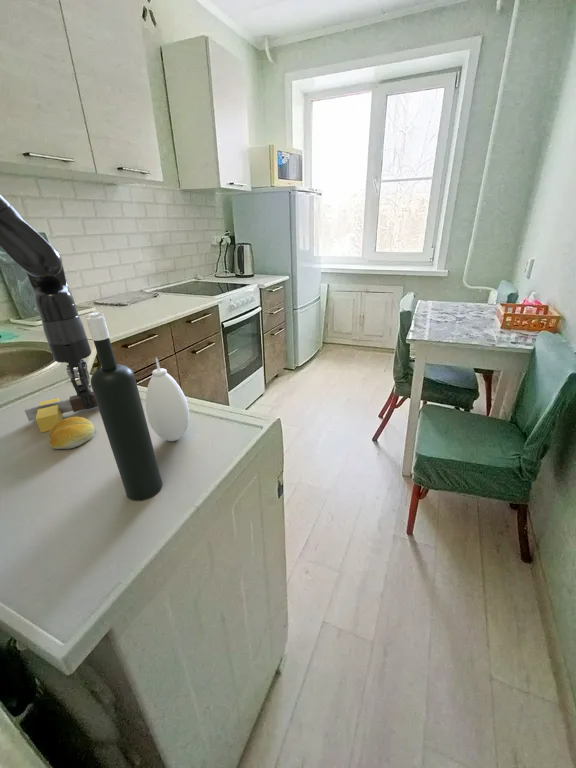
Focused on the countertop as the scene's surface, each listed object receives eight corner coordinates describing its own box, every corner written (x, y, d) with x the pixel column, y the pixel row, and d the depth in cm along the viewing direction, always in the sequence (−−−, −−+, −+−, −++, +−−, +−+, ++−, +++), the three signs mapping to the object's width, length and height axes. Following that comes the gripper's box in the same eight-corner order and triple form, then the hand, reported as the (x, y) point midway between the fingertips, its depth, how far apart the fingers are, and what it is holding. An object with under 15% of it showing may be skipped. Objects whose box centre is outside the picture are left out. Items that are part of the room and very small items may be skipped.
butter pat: (63, 414, 84) (58, 401, 83) (43, 419, 82) (38, 406, 81) (63, 410, 86) (58, 397, 85) (44, 414, 84) (39, 402, 83)
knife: (105, 400, 88) (101, 389, 87) (105, 404, 86) (102, 392, 85) (29, 418, 81) (24, 406, 80) (28, 423, 80) (23, 410, 78)
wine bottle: (128, 506, 56) (68, 322, 43) (124, 484, 61) (69, 312, 48) (165, 492, 58) (119, 314, 45) (159, 472, 63) (115, 306, 50)
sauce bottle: (181, 424, 78) (165, 346, 70) (200, 437, 73) (185, 355, 65) (147, 439, 73) (126, 358, 65) (165, 454, 68) (144, 369, 60)
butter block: (62, 427, 79) (56, 414, 77) (41, 432, 77) (35, 419, 76) (62, 417, 83) (57, 404, 81) (42, 422, 81) (37, 409, 80)
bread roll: (52, 456, 69) (45, 439, 67) (51, 435, 76) (45, 419, 74) (98, 441, 73) (92, 425, 71) (93, 423, 80) (88, 407, 78)
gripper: (49, 332, 82) (72, 398, 90) (44, 349, 71) (71, 422, 79) (85, 327, 85) (104, 390, 93) (86, 342, 74) (108, 413, 82)
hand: (89, 405), depth 86 cm, fingers closed on knife, 2 cm apart
